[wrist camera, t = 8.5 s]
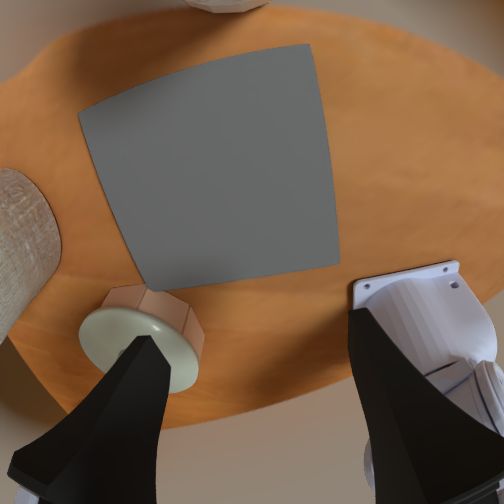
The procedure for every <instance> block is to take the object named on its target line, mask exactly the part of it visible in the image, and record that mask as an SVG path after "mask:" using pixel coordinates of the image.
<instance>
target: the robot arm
mask: <svg viewBox="0 0 504 504" xmlns="http://www.w3.org/2000/svg"><path fill="white" fill-rule="evenodd" d="M444 268H445V269H444ZM458 269H459V263H458V262H457V261H456V260H453V261H448V262H444V263H439V264H435V265H430V266H426V267H421V268H417V269H412V270H407V271H402V272H397V273H393V274H388V275H383V276H377V277H372V278H367V279H362V280H358V281H356V282H355V283H354V284H353V310H349V319H348V352H349V357H350V363H351V368H352V373H353V377H354V380H355V384H356V387H357V390H358V394H359V397H360V401H361V404H362V408H363V411H364V415H365V419H366V422H367V427H368V431H369V437H370V438H369V440H368V442H367V444H366V447H365V453H364V471H365V476H366V479H367V482H368V484H369V486H370V488H371V489H372V491H373V492H374V493H375V495H376V496H375V497H376V504H504V373H503V371H502V370H501V369H500V367H499V366H498V365H497V364H496V363H495V362H494V361H495V358H496V353H497V339H496V334H495V329H494V326H493V324H492V322H491V319H490V317H489V316H488V314H487V312H486V311H485V310H484V308H483V306H482V305H481V304H480V302H479V301H478V299H477V298H476V296H475V295H474V294H473V292H472V291H471V289H470V288H469V287H468V285H467V284H466V283H465V281H464V280H463V278H462V277H461V276H460V275H459V273H458ZM366 284H368V285H367V286H365V285H366ZM170 378H171V366H170V364H169V363H168V361H167V360H166V358H165V357H164V355H163V354H162V352H161V351H160V349H159V348H158V346H157V345H156V343H155V342H154V340H153V338H152V337H151V335H141V336H136V338H135V339H134V340H133V341H132V342H131V343H130V345H129V346H128V347H127V348H126V349H125V351H124V352H123V353H122V354H121V356H120V357H119V358H118V359H117V361H116V362H115V363H114V364H113V366H112V367H111V368H110V369H109V371H108V372H107V373H106V374H105V376H104V377H103V378H102V379H101V380H100V382H99V383H98V384H97V385H96V386H95V387H94V388H93V390H92V391H91V392H90V393H89V394H88V395H87V397H86V398H85V399H84V400H83V401H82V402H81V403H80V404H79V405H78V406H77V407H76V408H75V409H74V410H73V411H72V412H71V413H70V414H69V415H68V416H66V417H65V418H64V419H63V420H62V421H60V422H59V423H58V424H57V425H56V426H54V427H53V428H52V429H51V430H49V431H48V432H47V433H45V434H44V435H43V436H41V437H39V438H38V439H36V440H35V441H33V442H32V443H30V444H28V445H26V446H24V447H22V448H21V449H19V450H17V451H15V452H14V454H13V457H12V460H11V463H10V466H9V469H8V472H7V475H8V476H9V477H10V478H11V479H13V480H14V481H15V482H17V483H18V484H20V485H22V486H23V487H22V486H19V487H18V491H17V495H16V498H15V502H14V504H157V503H156V457H157V445H158V439H159V434H160V430H161V425H162V421H163V416H164V412H165V407H166V403H167V398H168V394H169V388H170ZM24 487H25V488H24Z"/></svg>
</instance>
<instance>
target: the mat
mask: <svg viewBox="0 0 504 504" xmlns="http://www.w3.org/2000/svg"><path fill="white" fill-rule="evenodd" d="M78 116H79V119H80V123H81V126H82V129H83V133H84V136H85V139H86V142H87V145H88V148H89V151H90V154H91V157H92V160H93V162H94V165H95V168H96V171H97V174H98V176H99V179H100V182H101V184H102V187H103V189H104V192H105V195H106V197H107V200H108V202H109V205H110V207H111V210H112V212H113V214H114V217H115V219H116V221H117V224H118V226H119V228H120V231H121V233H122V235H123V237H124V240H125V242H126V244H127V246H128V248H129V251H130V253H131V255H132V257H133V259H134V261H135V263H136V265H137V268H138V270H139V272H140V274H141V276H142V278H143V280H144V282H145V284H146V286H147V288H148V289H149V290H151V291H153V292H160V291H168V290H175V289H183V288H190V287H197V286H204V285H211V284H218V283H225V282H232V281H238V280H245V279H252V278H258V277H264V276H271V275H277V274H283V273H290V272H296V271H302V270H308V269H314V268H320V267H326V266H331V265H337V264H340V255H339V239H338V226H337V214H336V203H335V193H334V184H333V175H332V167H331V159H330V152H329V145H328V138H327V131H326V125H325V119H324V113H323V107H322V101H321V96H320V90H319V85H318V80H317V75H316V70H315V66H314V61H313V56H312V52H311V48H310V44H302V45H293V46H286V47H279V48H272V49H266V50H261V51H255V52H250V53H245V54H240V55H236V56H231V57H227V58H223V59H219V60H215V61H211V62H207V63H203V64H200V65H196V66H193V67H190V68H186V69H183V70H180V71H177V72H174V73H171V74H168V75H165V76H162V77H159V78H156V79H154V80H151V81H148V82H146V83H143V84H140V85H138V86H135V87H133V88H130V89H128V90H126V91H123V92H121V93H119V94H116V95H114V96H112V97H110V98H107V99H105V100H103V101H101V102H99V103H97V104H95V105H93V106H91V107H89V108H87V109H85V110H83V111H81V112H79V113H78Z"/></svg>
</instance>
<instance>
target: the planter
mask: <svg viewBox="0 0 504 504" xmlns="http://www.w3.org/2000/svg"><path fill="white" fill-rule="evenodd" d="M60 257H61V239H60V233H59V229H58V225H57V222H56V219H55V216H54V214H53V212H52V210H51V208H50V206H49V204H48V202H47V200H46V198H45V197H44V195H43V194H42V192H41V191H40V190H39V189H38V187H37V186H36V185H35V184H34V183H33V182H32V181H31V180H30V179H29V178H28V177H27V176H25V175H24V174H22V173H21V172H19V171H17V170H14V169H10V168H2V169H0V345H1V343H2V342H3V340H4V339H5V337H6V336H7V334H8V333H9V331H10V330H11V328H12V327H13V325H14V324H15V323H16V321H17V320H18V318H19V317H20V316H21V314H22V313H23V312H24V310H25V309H26V308H27V306H28V305H29V304H30V302H31V301H32V300H33V299H34V297H35V296H36V295H37V294H38V292H39V291H40V290H41V289H42V287H43V286H44V285H45V284H46V282H47V281H48V280H49V279H50V278H51V276H52V275H53V274H54V272H55V270H56V269H57V267H58V265H59V262H60Z"/></svg>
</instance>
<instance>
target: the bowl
mask: <svg viewBox="0 0 504 504" xmlns="http://www.w3.org/2000/svg"><path fill="white" fill-rule="evenodd" d="M110 306H114V307H125V308H130V309H135V310H138V311H141V312H144V313H147V314H149V315H152V316H154V317H156V318H158V319H160V320H162V321H164V322H166V323H167V324H169V325H171V326H172V327H173V328H175V329H176V330H178V331H179V332H180V333H181V334H182V335H183V336H185V338H186V339H187V340H188V341H189V342H190V343H191V344H192V346H193V347H194V349H195V350H196V352H197V355H198V357H199V364H200V359H201V354H202V348H203V343H204V338H205V334H204V332H203V330H202V328H201V326H200V324H199V322H198V320H197V317H196V315H195V313H194V311H193V309H192V307H191V306H189V304H188V303H186V302H184V301H182V300H180V299H178V298H176V297H174V296H172V295H170V294H168V293H166V292H164V291H160V292H153V291H151V290H149V289H148V288H147V286H146V284H138V285H131V286H124V287H117V288H112V289H111V290H110V291H109V293H108V295H107V297H106V298H105V300H104V302H103V303H102V305H101V307H100V308H102V307H110Z"/></svg>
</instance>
